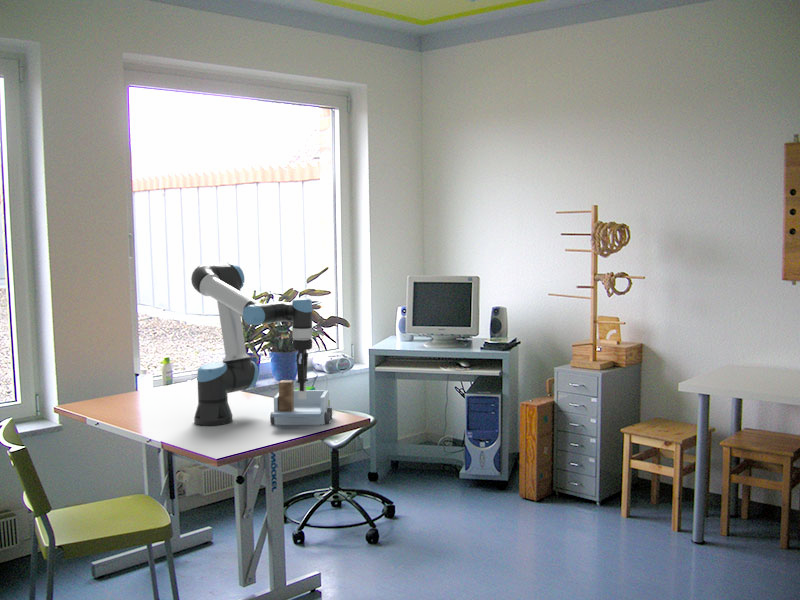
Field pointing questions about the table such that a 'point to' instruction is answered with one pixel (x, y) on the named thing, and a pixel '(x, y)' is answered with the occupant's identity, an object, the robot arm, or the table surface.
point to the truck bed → (306, 408)
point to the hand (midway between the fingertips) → (302, 398)
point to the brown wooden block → (286, 396)
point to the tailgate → (297, 414)
